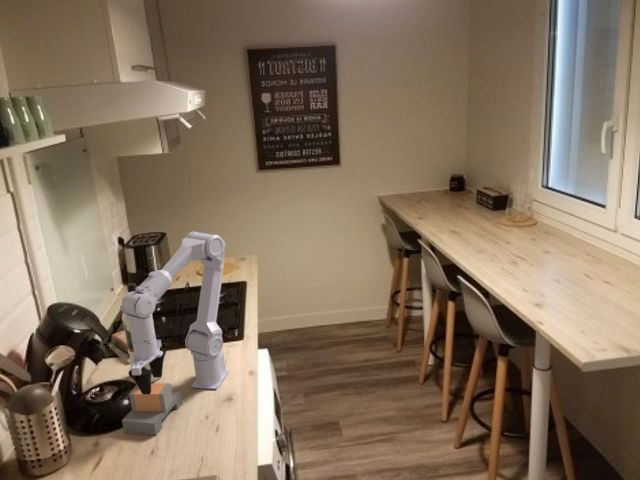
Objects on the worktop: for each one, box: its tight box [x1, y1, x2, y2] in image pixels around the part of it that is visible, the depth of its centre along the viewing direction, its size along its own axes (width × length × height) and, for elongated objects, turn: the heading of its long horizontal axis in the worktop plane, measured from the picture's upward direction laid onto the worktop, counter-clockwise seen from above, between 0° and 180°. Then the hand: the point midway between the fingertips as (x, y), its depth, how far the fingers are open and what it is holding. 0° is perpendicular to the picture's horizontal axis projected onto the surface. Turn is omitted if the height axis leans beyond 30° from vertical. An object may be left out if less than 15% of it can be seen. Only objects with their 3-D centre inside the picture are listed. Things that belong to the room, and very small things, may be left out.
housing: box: [128, 382, 173, 411], centre depth 136 cm, size 9×5×5 cm, turn 84°
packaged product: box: [107, 329, 131, 365], centre depth 174 cm, size 18×5×10 cm
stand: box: [121, 390, 184, 436], centre depth 137 cm, size 14×9×4 cm, turn 167°
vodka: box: [121, 282, 164, 384], centre depth 153 cm, size 9×9×30 cm
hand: (152, 384), depth 135 cm, fingers open, 7 cm apart
